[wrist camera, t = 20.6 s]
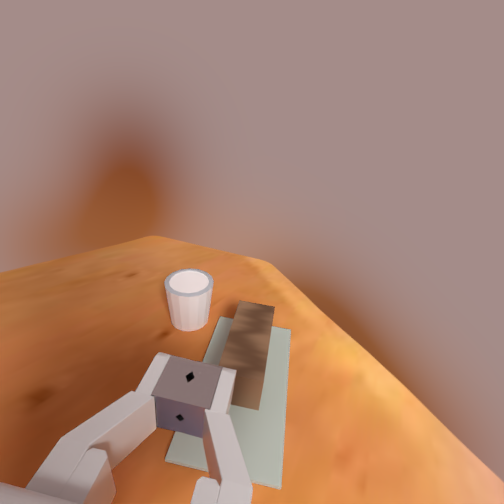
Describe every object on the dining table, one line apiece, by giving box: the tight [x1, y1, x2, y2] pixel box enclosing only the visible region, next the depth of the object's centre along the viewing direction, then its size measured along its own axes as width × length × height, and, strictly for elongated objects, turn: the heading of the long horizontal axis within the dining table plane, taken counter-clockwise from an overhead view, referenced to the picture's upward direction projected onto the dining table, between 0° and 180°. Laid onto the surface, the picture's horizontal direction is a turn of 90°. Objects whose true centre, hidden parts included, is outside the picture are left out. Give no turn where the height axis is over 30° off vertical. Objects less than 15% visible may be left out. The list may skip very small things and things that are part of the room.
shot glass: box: [164, 269, 214, 331], centre depth 42 cm, size 7×7×7 cm
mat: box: [165, 316, 291, 489], centre depth 35 cm, size 11×20×1 cm, turn 170°
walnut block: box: [218, 301, 275, 411], centre depth 36 cm, size 5×5×12 cm
